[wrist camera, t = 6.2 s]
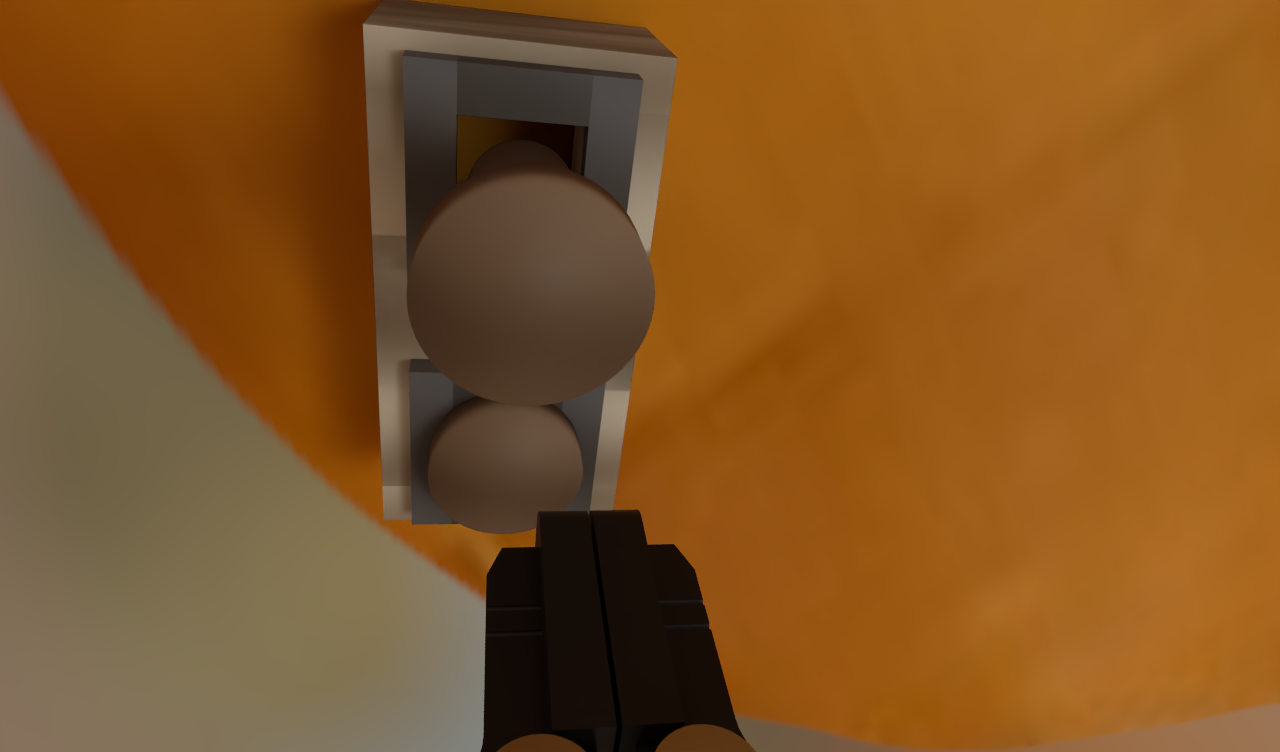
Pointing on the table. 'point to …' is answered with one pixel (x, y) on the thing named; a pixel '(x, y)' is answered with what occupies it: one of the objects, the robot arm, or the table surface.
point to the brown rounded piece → (529, 280)
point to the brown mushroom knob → (503, 464)
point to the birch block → (427, 170)
